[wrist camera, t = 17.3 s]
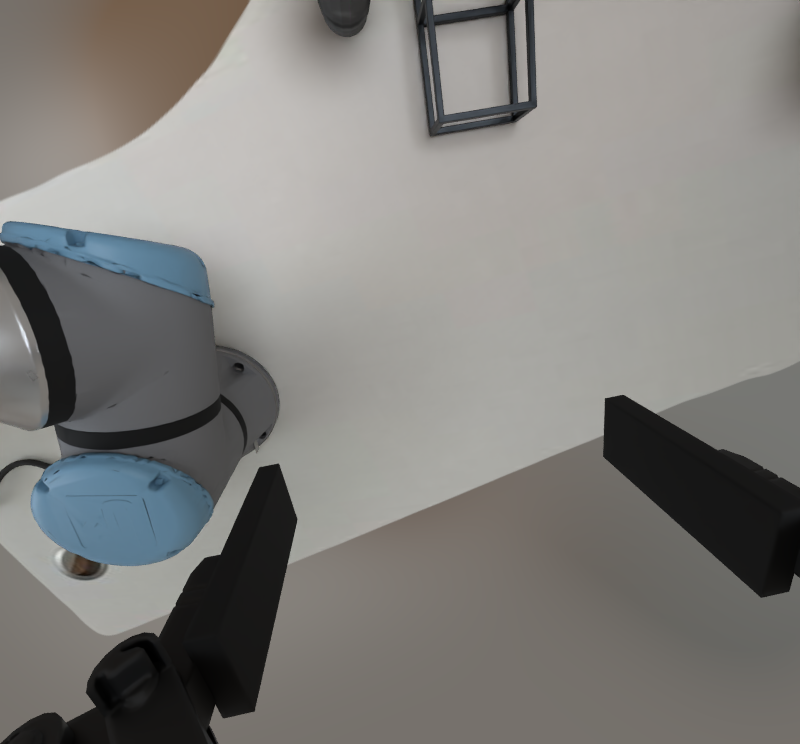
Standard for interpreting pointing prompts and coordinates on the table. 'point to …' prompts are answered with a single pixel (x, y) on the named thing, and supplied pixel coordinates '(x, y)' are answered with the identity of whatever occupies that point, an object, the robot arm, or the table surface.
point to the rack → (516, 109)
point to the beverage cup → (345, 15)
